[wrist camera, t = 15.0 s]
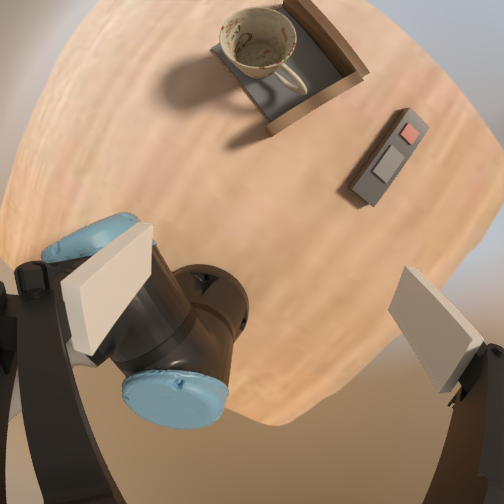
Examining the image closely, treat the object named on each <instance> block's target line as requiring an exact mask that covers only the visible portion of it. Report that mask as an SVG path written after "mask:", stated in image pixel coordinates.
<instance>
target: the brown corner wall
mask: <svg viewBox="0 0 504 504" xmlns="http://www.w3.org/2000/svg"><path fill="white" fill-rule="evenodd" d="M283 7H284V8H285V9H286V10H287V12H288V13H289V14H290V15H291V16H292V17H293V18H294V19H295V20H296V21H297V22H298V23H299V24H300V25H301V27H302V28H303V29H304V30H305V31H306V32H307V33H308V35H309V36H310V37H311V38H312V39H313V40H314V42H315V43H316V44H317V45H318V46H319V48H320V49H321V50H322V51H323V53H324V54H325V55H326V56H327V58H328V59H329V60H330V61H331V63H332V64H333V65H334V67H335V68H336V69H337V71H338V72H339V73H340V75H341V76H342V77H343V79H341V80H339V81H338V82H336V83H334V84H332V85H331V86H329V87H327V88H325V89H324V90H322V91H320V92H319V93H317V94H315V95H314V96H312V97H310V98H309V99H307V100H305V101H304V102H302V103H300V104H299V105H297V106H296V107H294V108H292V109H291V110H289V111H288V112H286V113H285V114H283V115H282V116H280V117H278V118H277V119H275V120H274V121H272V122H271V123H269V124H268V125H266V130H267V131H268V132H269V134H270V135H271V136H274V135H275V134H277V133H278V132H280V131H281V130H283V129H284V128H286V127H287V126H289V125H291V124H292V123H294V122H295V121H297V120H298V119H300V118H301V117H303V116H305V115H306V114H308V113H309V112H311V111H313V110H314V109H316V108H318V107H319V106H321V105H322V104H324V103H326V102H327V101H329V100H331V99H333V98H334V97H336V96H338V95H339V94H341V93H343V92H344V91H346V90H348V89H350V88H351V87H353V86H355V85H357V84H358V83H360V82H362V81H364V80H363V79H362V77H364V76H365V75H367V74H369V73H370V72H369V70H368V69H367V68H366V66H365V65H364V63H363V62H362V61H361V59H360V58H359V57H358V55H357V54H356V53H355V51H354V50H353V49H352V47H351V46H350V45H349V44H348V42H347V41H346V40H345V39H344V37H343V36H342V35H341V34H340V33H339V31H338V30H337V29H336V28H335V27H334V25H333V24H332V23H331V22H330V21H329V20H328V19H327V18H326V16H325V15H324V14H323V13H322V12H321V11H320V10H319V9H318V8H317V7H316V6H315V5H314V4H313V2H312V1H311V0H283Z"/></svg>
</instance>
